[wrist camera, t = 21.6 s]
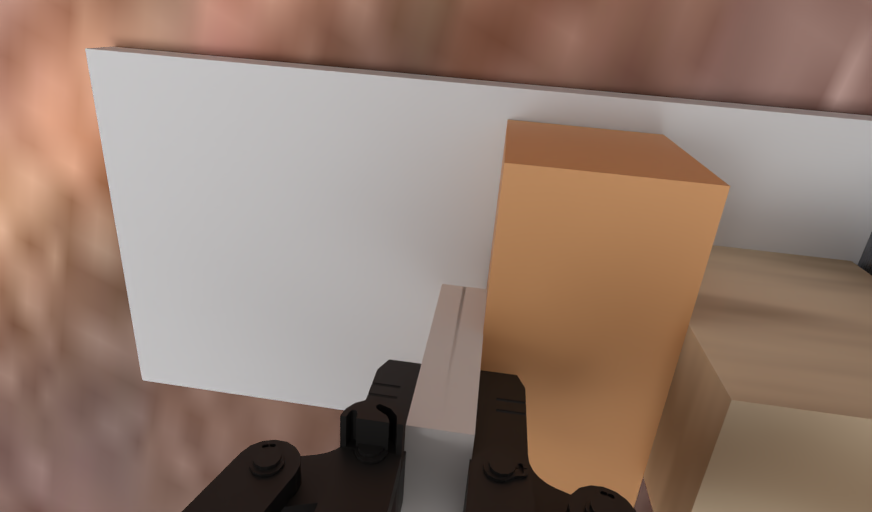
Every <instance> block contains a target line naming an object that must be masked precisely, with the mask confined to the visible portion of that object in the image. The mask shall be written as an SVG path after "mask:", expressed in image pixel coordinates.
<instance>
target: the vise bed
mask: <svg viewBox="0 0 872 512" xmlns="http://www.w3.org/2000/svg"><path fill="white" fill-rule="evenodd" d="M85 50H86V56H87V62H88V68H89V74H90V79H91V85H92V91H93V97H94V103H95V108H96V114H97V120H98V126H99V132H100V137H101V143H102V149H103V155H104V161H105V166H106V172H107V178H108V184H109V190H110V195H111V201H112V207H113V213H114V219H115V224H116V230H117V236H118V242H119V248H120V253H121V259H122V265H123V271H124V276H125V282H126V288H127V294H128V300H129V305H130V311H131V317H132V323H133V329H134V334H135V340H136V346H137V352H138V358H139V363H140V369H141V375H142V380H144V381H151V382H158V383H165V384H171V385H178V386H185V387H191V388H198V389H205V390H212V391H218V392H225V393H232V394H238V395H245V396H252V397H259V398H265V399H272V400H279V401H285V402H292V403H299V404H306V405H312V406H319V407H326V408H332V409H339V410H345V409H346V408H347V407H349V406H351V405H352V404H354V403H356V402H360V401H364V400H366V398H367V395H368V393H369V390H370V387H371V385H372V382H373V379H374V377H375V374H376V371H377V369H378V368H380V367H381V366H382V365H383V364H384V363H385V362H387V361H388V360H389V359H390V360H398V361H405V362H413V363H420V364H422V360H423V356H424V352H425V348H426V344H427V340H428V337H429V333H430V329H431V325H432V321H433V317H434V313H435V309H436V306H437V302H438V298H439V294H440V290H441V286H442V284H448V285H457V286H465V287H473V288H482V289H487V281H488V273H489V265H490V257H491V249H492V241H493V233H494V224H495V216H496V208H497V200H498V192H499V184H500V176H501V168H502V160H503V152H504V144H505V136H506V128H507V120H519V121H529V122H539V123H550V124H560V125H570V126H580V127H591V128H601V129H611V130H622V131H632V132H642V133H652V134H663V135H665V136H666V137H667V138H669V139H670V140H671V141H673V142H674V143H675V144H676V145H678V146H679V147H680V148H682V149H683V150H684V151H685V152H687V153H688V154H689V155H691V156H692V157H693V158H695V159H696V160H697V161H698V162H700V163H701V164H702V165H704V166H705V167H706V168H707V169H709V170H710V171H711V172H713V173H714V174H715V175H717V176H718V177H719V178H720V179H722V180H723V181H724V182H726V183H727V184H728V185H729V186H730V189H729V193H728V196H727V199H726V203H725V206H724V209H723V213H722V216H721V219H720V223H719V226H718V229H717V233H716V236H715V239H714V243H713V245H715V246H724V247H733V248H742V249H750V250H759V251H768V252H777V253H786V254H794V255H803V256H812V257H821V258H829V259H838V260H847V261H852V262H853V263H855V264H856V265H858V266H859V267H860V268H862V269H863V270H865V271H866V272H867V273H869V274H870V275H872V116H870V115H859V114H848V113H837V112H826V111H815V110H804V109H793V108H782V107H771V106H760V105H749V104H738V103H727V102H716V101H705V100H694V99H683V98H672V97H661V96H650V95H639V94H628V93H617V92H606V91H595V90H584V89H573V88H562V87H551V86H540V85H529V84H518V83H508V82H497V81H486V80H475V79H464V78H453V77H442V76H431V75H420V74H409V73H398V72H387V71H376V70H365V69H354V68H343V67H332V66H321V65H310V64H299V63H288V62H277V61H266V60H255V59H244V58H233V57H222V56H211V55H200V54H189V53H178V52H167V51H156V50H145V49H134V48H123V47H101V48H86V49H85Z"/></svg>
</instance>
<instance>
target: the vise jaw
mask: <svg viewBox="0 0 872 512" xmlns="http://www.w3.org/2000/svg"><path fill="white" fill-rule="evenodd" d="M729 189H730V186H729V185H728V184H727V183H726V182H724V181H723V180H722V179H720V178H719V177H718V176H717V175H715V174H714V173H713V172H711V171H710V170H709V169H707V168H706V167H705V166H704V165H702V164H701V163H700V162H698V161H697V160H696V159H695V158H693V157H692V156H691V155H689V154H688V153H687V152H685V151H684V150H683V149H682V148H680V147H679V146H678V145H676V144H675V143H674V142H673V141H671V140H670V139H669V138H667V137H666V136H665V135H663V134H652V133H642V132H632V131H622V130H611V129H601V128H591V127H580V126H570V125H560V124H550V123H539V122H529V121H519V120H507V128H506V136H505V144H504V152H503V160H502V168H501V176H500V184H499V192H498V200H497V208H496V216H495V224H494V233H493V241H492V249H491V257H490V265H489V273H488V281H487V297H486V308H485V318H484V327H483V344H482V356H481V368H480V370H483V371H490V372H498V373H505V374H513V375H517V376H518V377H519V379H520V381H521V382H522V384H523V385H524V387H525V392H526V416H527V441H528V458H529V463H530V465H531V467H532V469H533V471H534V472H535V473H536V474H537V475H538V477H539V478H541V479H542V480H543V481H544V482H546V483H547V484H549V485H551V486H553V487H555V488H556V489H559V490H561V491H564V492H566V493H568V494H572V493H573V492H575V491H576V490H577V489H578V488H580V487H585V486H589V485H593V486H602V487H605V488H608V489H610V490H613V491H615V492H617V493H618V494H620V495H621V496H622V497H624V498H625V499H626V500H628V502H629V503H630V504H631V505H632V507H633V508H634V505H635V502H636V499H637V495H638V492H639V489H640V485H641V482H642V479H643V475H644V472H645V469H646V465H647V462H648V459H649V455H650V452H651V449H652V445H653V442H654V439H655V436H656V432H657V429H658V426H659V422H660V419H661V416H662V412H663V409H664V406H665V402H666V399H667V396H668V392H669V389H670V386H671V382H672V379H673V376H674V372H675V369H676V366H677V362H678V359H679V356H680V352H681V349H682V346H683V342H684V339H685V336H686V332H687V329H688V326H689V322H690V319H691V316H692V312H693V309H694V306H695V302H696V299H697V296H698V292H699V289H700V286H701V282H702V279H703V276H704V272H705V269H706V266H707V262H708V259H709V256H710V252H711V249H712V246H713V243H714V239H715V236H716V233H717V229H718V226H719V223H720V219H721V216H722V213H723V209H724V206H725V203H726V199H727V196H728V193H729Z"/></svg>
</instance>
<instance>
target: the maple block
mask: <svg viewBox="0 0 872 512" xmlns="http://www.w3.org/2000/svg"><path fill="white" fill-rule="evenodd" d="M643 478H644V481H645V485H646V488H647V492H648V495H649V499H650V502H651V506H652V510H653V512H872V275H870V274H869V273H867V272H866V271H865V270H863V269H862V268H860V267H859V266H858V265H856V264H855V263H853V262H852V261H847V260H838V259H829V258H821V257H812V256H803V255H794V254H786V253H777V252H768V251H759V250H750V249H742V248H733V247H724V246H715V245H713V246H712V249H711V252H710V256H709V259H708V262H707V266H706V269H705V272H704V276H703V279H702V282H701V286H700V289H699V292H698V296H697V299H696V302H695V306H694V309H693V312H692V316H691V319H690V322H689V326H688V329H687V332H686V336H685V339H684V342H683V346H682V349H681V352H680V356H679V359H678V362H677V366H676V369H675V372H674V376H673V379H672V382H671V386H670V389H669V392H668V396H667V399H666V402H665V406H664V409H663V412H662V416H661V419H660V422H659V426H658V429H657V432H656V436H655V439H654V442H653V445H652V449H651V452H650V455H649V459H648V462H647V465H646V469H645V472H644V475H643Z"/></svg>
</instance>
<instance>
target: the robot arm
mask: <svg viewBox="0 0 872 512" xmlns="http://www.w3.org/2000/svg"><path fill="white" fill-rule="evenodd" d="M486 297H487V289H482V288H473V287H465V286H457V285H448V284H442V286H441V290H440V294H439V298H438V302H437V306H436V309H435V313H434V317H433V321H432V325H431V329H430V333H429V337H428V340H427V344H426V348H425V352H424V356H423V360H422V364H420V363H413V362H405V361H398V360H390V359H389V360H388V361H387V362H385V363H384V364H383V365H382V366H381V367H380V368H378V369H377V371H376V374H375V377H374V379H373V382H372V385H371V387H370V390H369V393H368V395H367V398H366V400H364V401H360V402H356V403H354V404H352V405H351V406H349V407H347V408H346V409H345V410H344V412H343V413H342V414H341V416H340V447H339V448H338V449H336V450H333V451H331V452H328V453H323V454H318V455H309V456H300V454H299V452H298V450H297V449H296V447H294V446H293V445H291V444H289V443H288V442H284V441H279V440H269V441H262V442H259V443H256V444H254V445H251V446H249V447H248V448H247V449H245V450H244V451H243V452H241V453H240V454H239V455H238V456H237V457H236V458H235V459H234V460H233V461H232V462H231V463H230V464H229V465H228V466H227V467H226V468H225V469H224V470H223V471H222V472H221V473H220V474H219V475H218V476H217V477H216V478H215V479H214V480H213V481H212V482H211V483H210V484H209V485H208V486H207V487H206V488H205V489H204V490H203V491H202V492H201V493H200V494H199V495H198V496H197V497H196V498H195V499H194V500H193V501H192V502H191V503H190V504H189V505H188V506H187V507H186V508H185V509H184V510H183V511H182V512H636V511H635V509H634V508H633V507H632V505H631V504H630V503H629V502H628V500H626V499H625V498H624V497H622V496H621V495H620V494H618V493H617V492H615V491H613V490H610V489H608V488H605V487H602V486H593V485H589V486H585V487H580V488H578V489H577V490H576V491H575V492H573V493H572V494H568V493H566V492H564V491H561V490H559V489H556V488H555V487H553V486H551V485H549V484H547V483H546V482H544V481H543V480H542V479H541V478H539V477H538V475H537V474H536V473H535V472H534V471H533V469H532V467H531V465H530V463H529V458H528V441H527V416H526V392H525V387H524V385H523V384H522V382H521V381H520V379H519V377H518V376H517V375H513V374H505V373H498V372H490V371H483V370H480V368H481V356H482V344H483V327H484V318H485V308H486Z"/></svg>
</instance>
